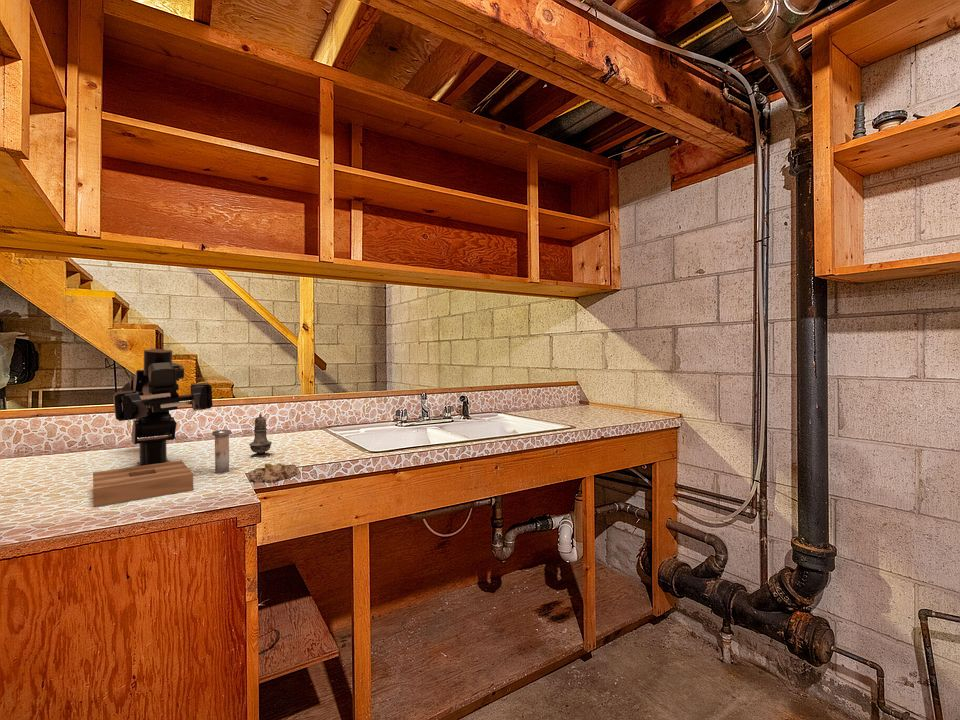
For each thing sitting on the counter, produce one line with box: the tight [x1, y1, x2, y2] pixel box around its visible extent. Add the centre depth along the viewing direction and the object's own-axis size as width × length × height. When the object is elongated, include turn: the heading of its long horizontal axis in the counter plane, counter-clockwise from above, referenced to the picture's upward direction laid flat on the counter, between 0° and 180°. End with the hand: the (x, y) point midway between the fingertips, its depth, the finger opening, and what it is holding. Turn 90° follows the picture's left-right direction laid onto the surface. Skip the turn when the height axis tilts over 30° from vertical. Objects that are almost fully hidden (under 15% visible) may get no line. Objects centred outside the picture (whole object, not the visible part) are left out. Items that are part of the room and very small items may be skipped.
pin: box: [211, 429, 232, 474], centre depth 110 cm, size 4×4×10 cm
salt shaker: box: [248, 413, 273, 458], centre depth 127 cm, size 6×6×12 cm
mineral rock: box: [247, 462, 298, 484], centre depth 104 cm, size 11×4×8 cm
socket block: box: [92, 460, 194, 508], centre depth 96 cm, size 16×16×4 cm
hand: (173, 410), depth 99 cm, fingers open, 9 cm apart
